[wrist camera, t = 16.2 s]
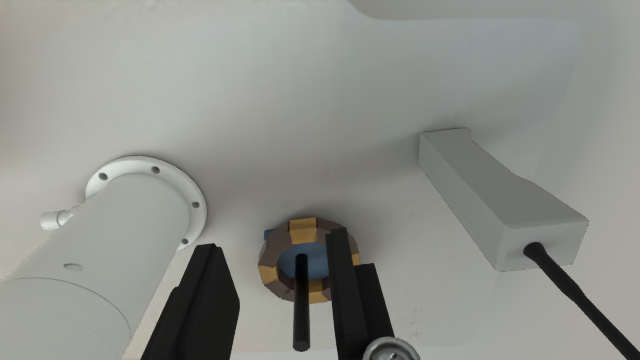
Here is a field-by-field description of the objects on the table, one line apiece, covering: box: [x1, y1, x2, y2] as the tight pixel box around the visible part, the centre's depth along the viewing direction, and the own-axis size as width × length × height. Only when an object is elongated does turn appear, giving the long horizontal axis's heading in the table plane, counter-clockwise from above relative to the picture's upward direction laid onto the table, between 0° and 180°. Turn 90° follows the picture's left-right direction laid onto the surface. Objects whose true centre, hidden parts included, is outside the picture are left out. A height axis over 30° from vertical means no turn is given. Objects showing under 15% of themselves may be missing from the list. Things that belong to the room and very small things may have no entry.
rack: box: [264, 230, 329, 352], centre depth 35 cm, size 8×8×13 cm
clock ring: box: [258, 217, 360, 304], centre depth 39 cm, size 12×12×2 cm
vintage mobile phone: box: [418, 128, 640, 360], centre depth 24 cm, size 4×5×25 cm
